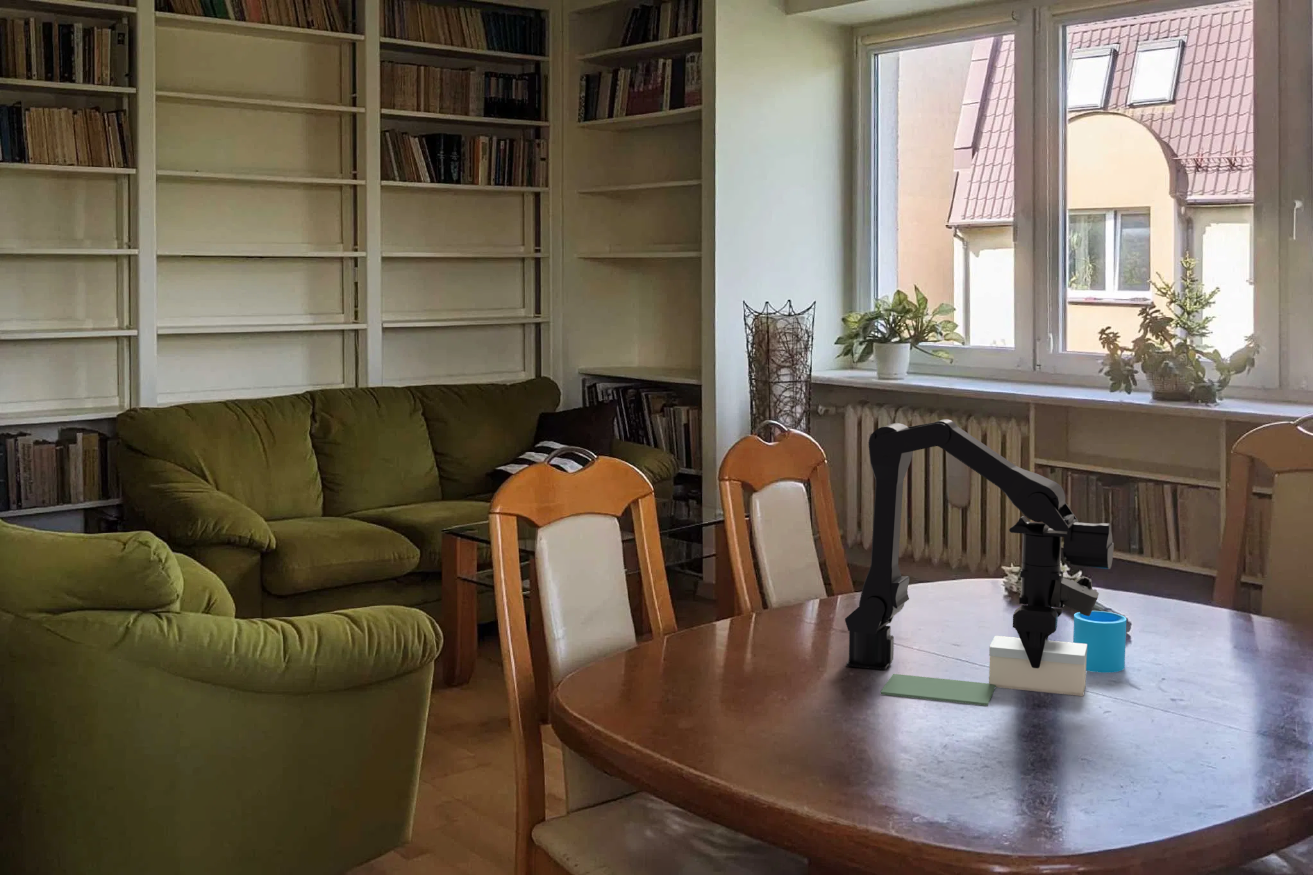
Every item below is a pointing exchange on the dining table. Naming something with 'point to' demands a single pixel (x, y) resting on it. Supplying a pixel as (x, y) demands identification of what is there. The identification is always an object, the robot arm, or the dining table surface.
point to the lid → (1051, 652)
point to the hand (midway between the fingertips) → (1037, 661)
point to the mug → (1102, 640)
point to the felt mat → (939, 689)
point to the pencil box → (1038, 676)
